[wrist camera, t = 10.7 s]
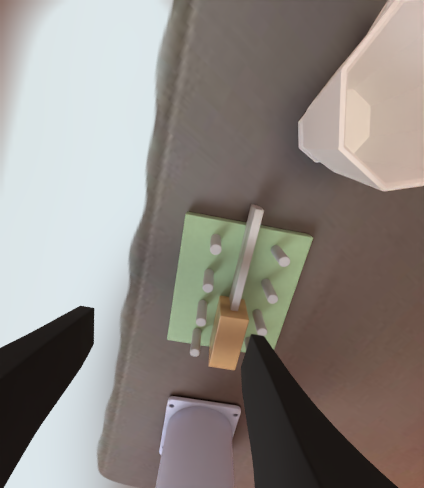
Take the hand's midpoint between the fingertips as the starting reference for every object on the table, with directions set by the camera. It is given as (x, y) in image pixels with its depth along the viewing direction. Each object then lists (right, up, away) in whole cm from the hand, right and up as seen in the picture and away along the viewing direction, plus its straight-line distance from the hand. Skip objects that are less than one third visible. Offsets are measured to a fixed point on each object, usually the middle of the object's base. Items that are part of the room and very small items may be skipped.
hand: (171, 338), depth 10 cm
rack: (+4, 0, +10) cm, 10 cm away
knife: (+4, 0, +9) cm, 9 cm away
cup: (+10, +14, +5) cm, 18 cm away
